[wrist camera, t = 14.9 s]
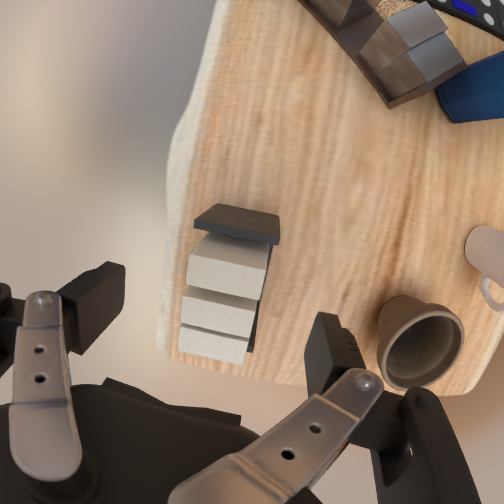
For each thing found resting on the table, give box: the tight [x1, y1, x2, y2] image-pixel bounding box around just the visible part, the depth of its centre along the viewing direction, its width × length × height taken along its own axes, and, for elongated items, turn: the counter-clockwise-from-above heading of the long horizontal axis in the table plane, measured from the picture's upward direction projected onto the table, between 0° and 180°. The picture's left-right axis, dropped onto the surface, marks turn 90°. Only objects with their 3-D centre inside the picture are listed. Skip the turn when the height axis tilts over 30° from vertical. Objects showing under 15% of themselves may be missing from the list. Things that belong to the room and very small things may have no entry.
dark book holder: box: [177, 203, 280, 365], centre depth 32 cm, size 12×8×15 cm, turn 169°
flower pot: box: [377, 296, 464, 391], centre depth 35 cm, size 12×11×10 cm
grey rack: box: [298, 0, 468, 109], centre depth 24 cm, size 19×8×12 cm, turn 37°
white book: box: [186, 231, 269, 300], centre depth 31 cm, size 3×6×14 cm, turn 79°
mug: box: [465, 225, 504, 312], centre depth 30 cm, size 10×7×12 cm, turn 173°
